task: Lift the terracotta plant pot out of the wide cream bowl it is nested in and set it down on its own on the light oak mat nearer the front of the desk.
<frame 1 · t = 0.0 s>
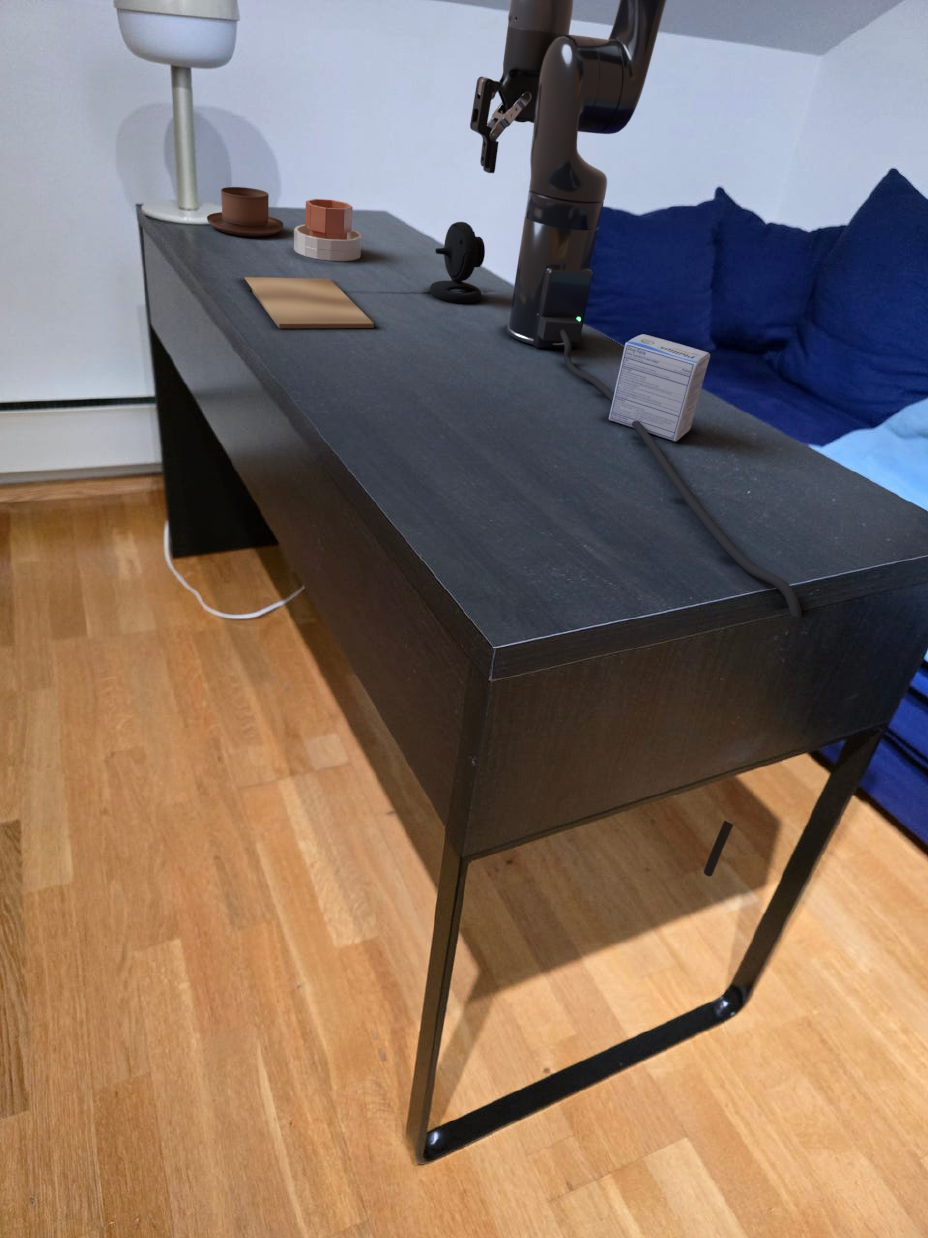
hand: (517, 174, 116), 17 cm above the table, tool pointing down, fingers open, 8 cm apart
oak mat: (306, 303, 116), on the table
webcam: (454, 297, 127), on the table
cup and saucer: (245, 234, 143), on the table
cream bowl: (327, 255, 138), on the table, touching terracotta plant pot
medicine box: (648, 428, 94), on the table
terracotta plant pot: (327, 252, 137), resting on cream bowl
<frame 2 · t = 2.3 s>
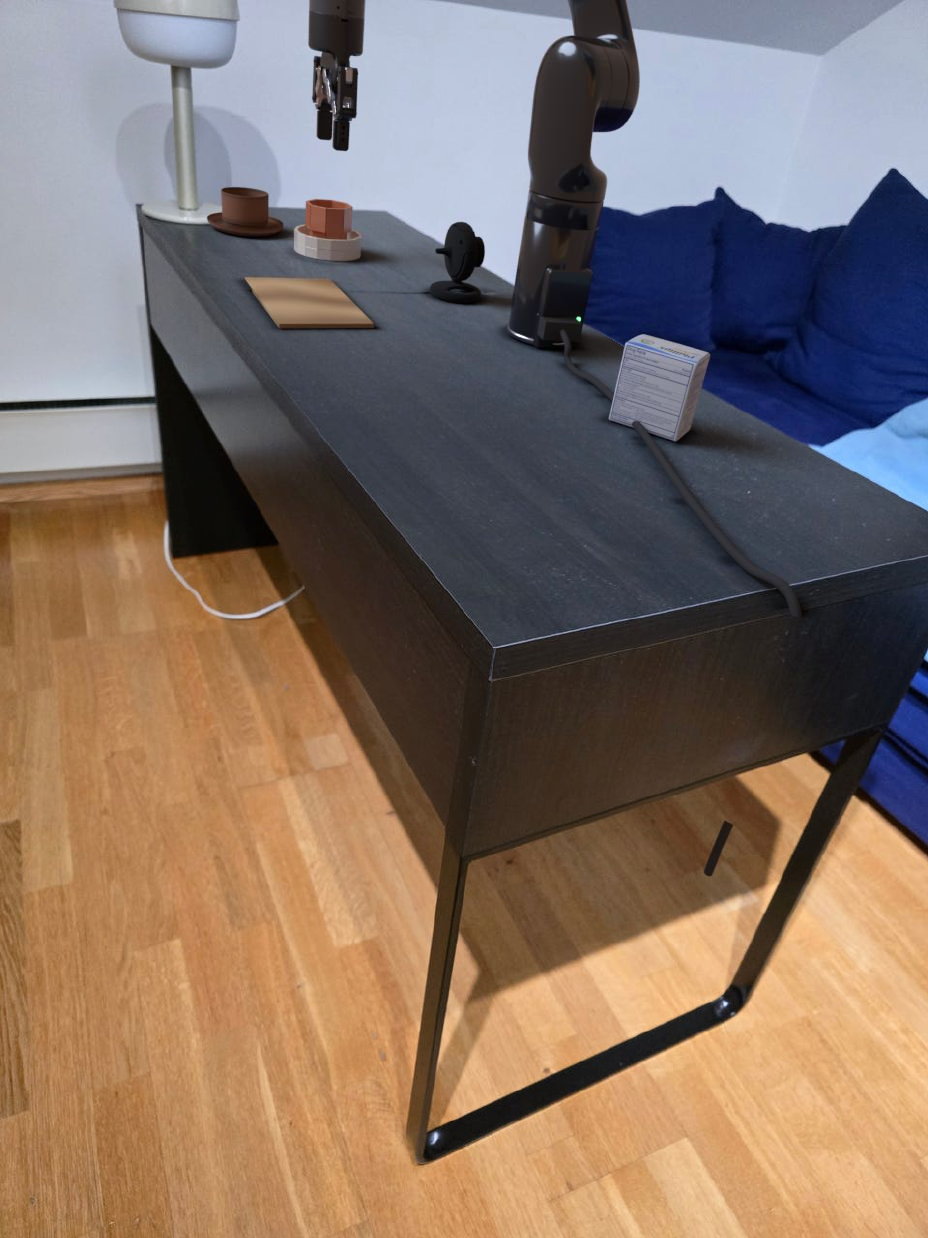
hand: (332, 144, 129), 16 cm above the table, tool pointing down, fingers open, 8 cm apart
nothing on the table moved.
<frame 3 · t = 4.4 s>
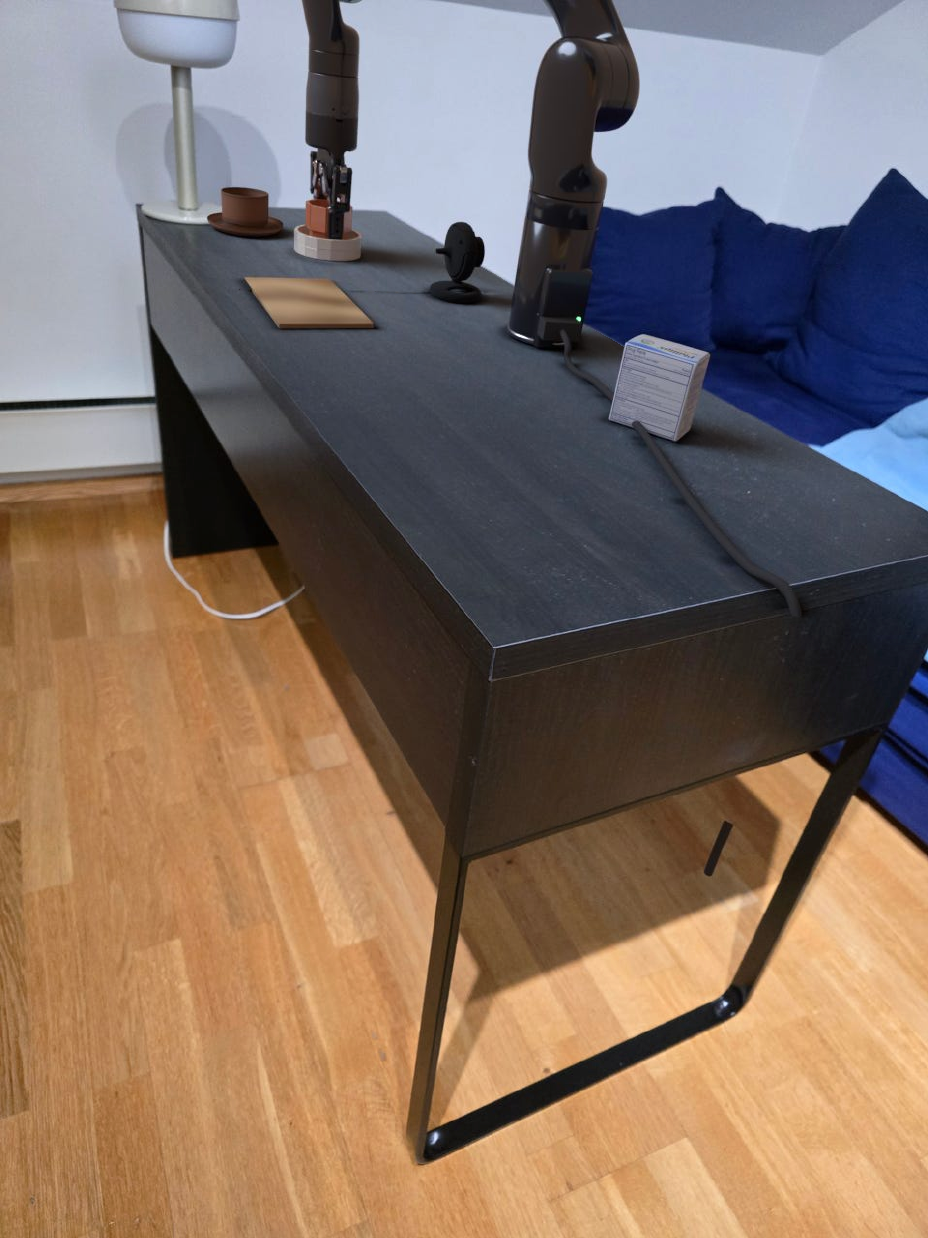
hand: (328, 233, 136), 3 cm above the table, tool pointing down, fingers closed on terracotta plant pot, 6 cm apart
terracotta plant pot: (327, 252, 137), resting on cream bowl, touching gripper
everything else where it was.
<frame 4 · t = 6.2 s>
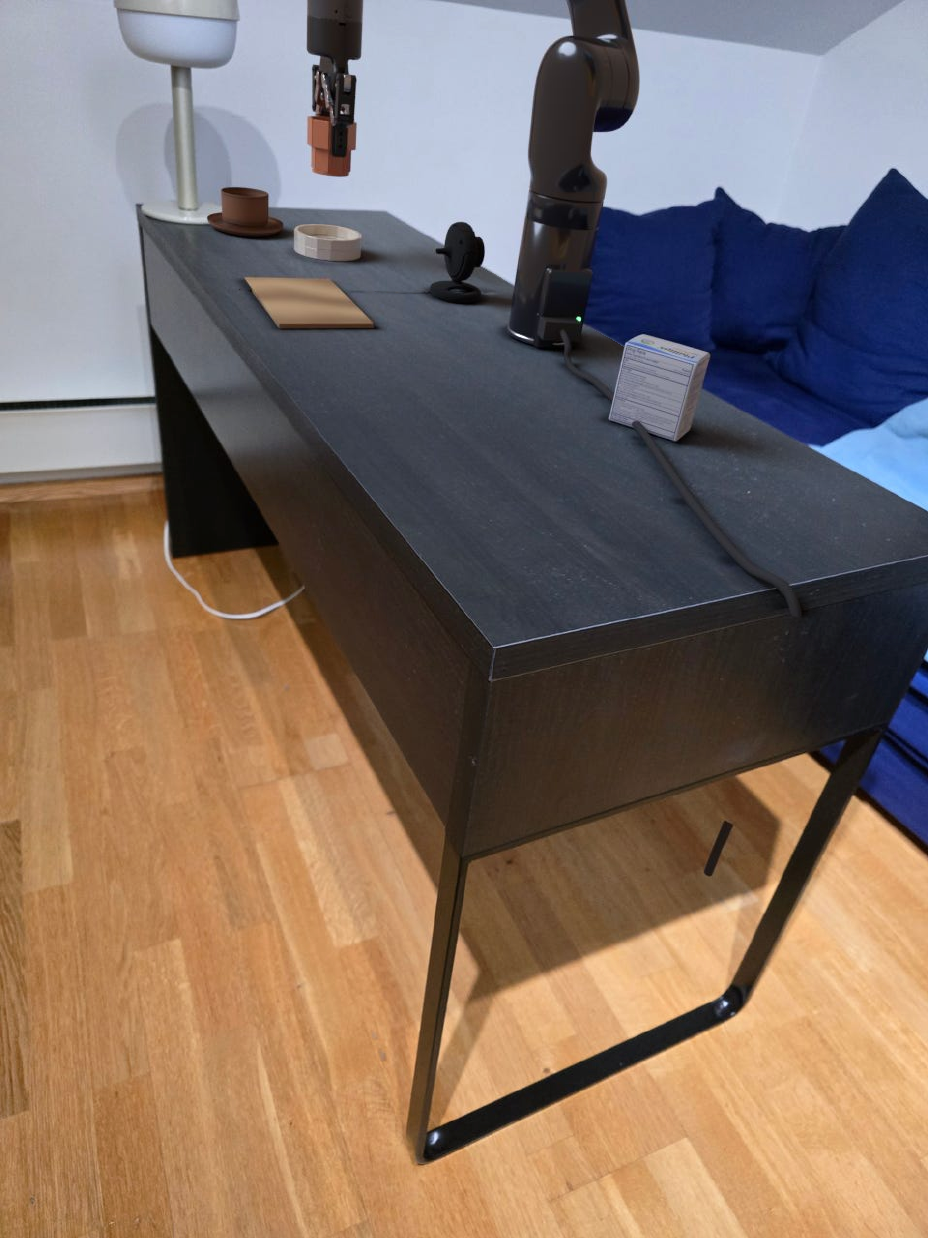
hand: (331, 151, 129), 15 cm above the table, tool pointing down, fingers closed on terracotta plant pot, 6 cm apart
cream bowl: (327, 255, 138), on the table
terracotta plant pot: (330, 173, 131), point 12 cm above the table, touching gripper
everything else where it was.
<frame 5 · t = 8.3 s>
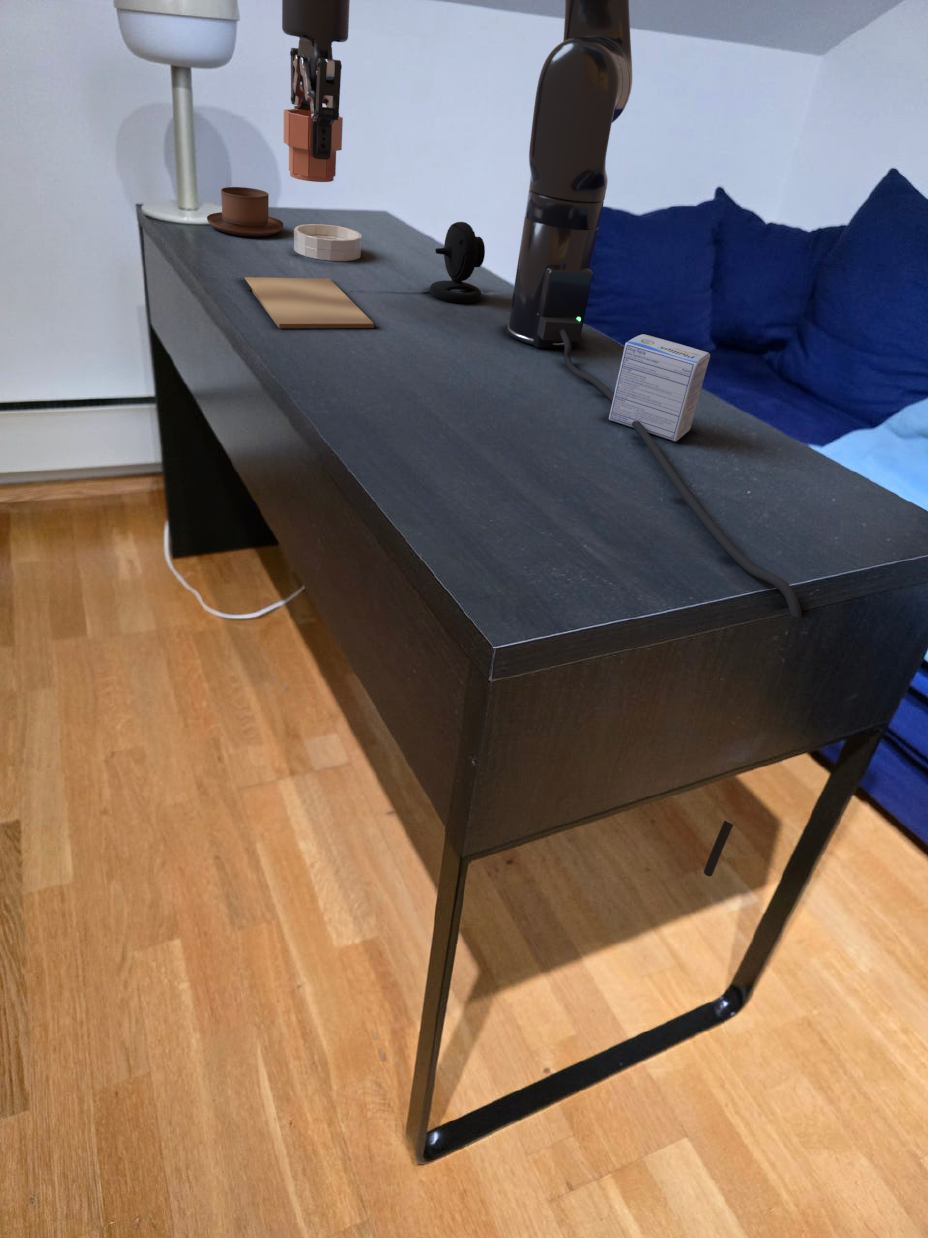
hand: (313, 152, 108), 17 cm above the table, tool pointing down, fingers closed on terracotta plant pot, 6 cm apart
terracotta plant pot: (312, 177, 110), point 15 cm above the table, touching gripper
everything else where it was.
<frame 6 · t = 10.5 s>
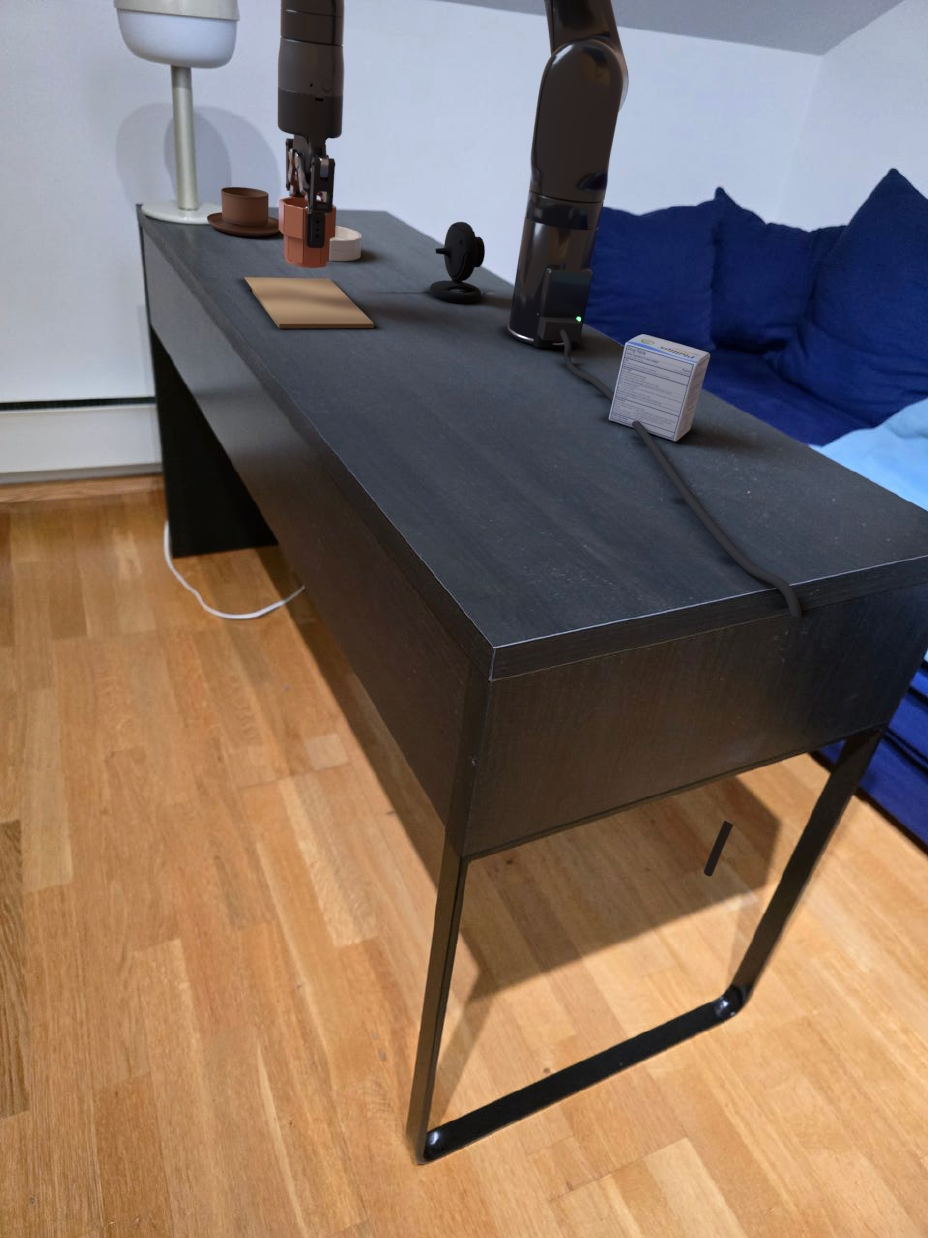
hand: (307, 239, 111), 8 cm above the table, tool pointing down, fingers closed on terracotta plant pot, 6 cm apart
terracotta plant pot: (306, 262, 113), point 5 cm above the table, touching gripper
everything else where it was.
when the fingers open (3 cm above the table, at t = 12.3 s): terracotta plant pot stays where it is, resting on oak mat.
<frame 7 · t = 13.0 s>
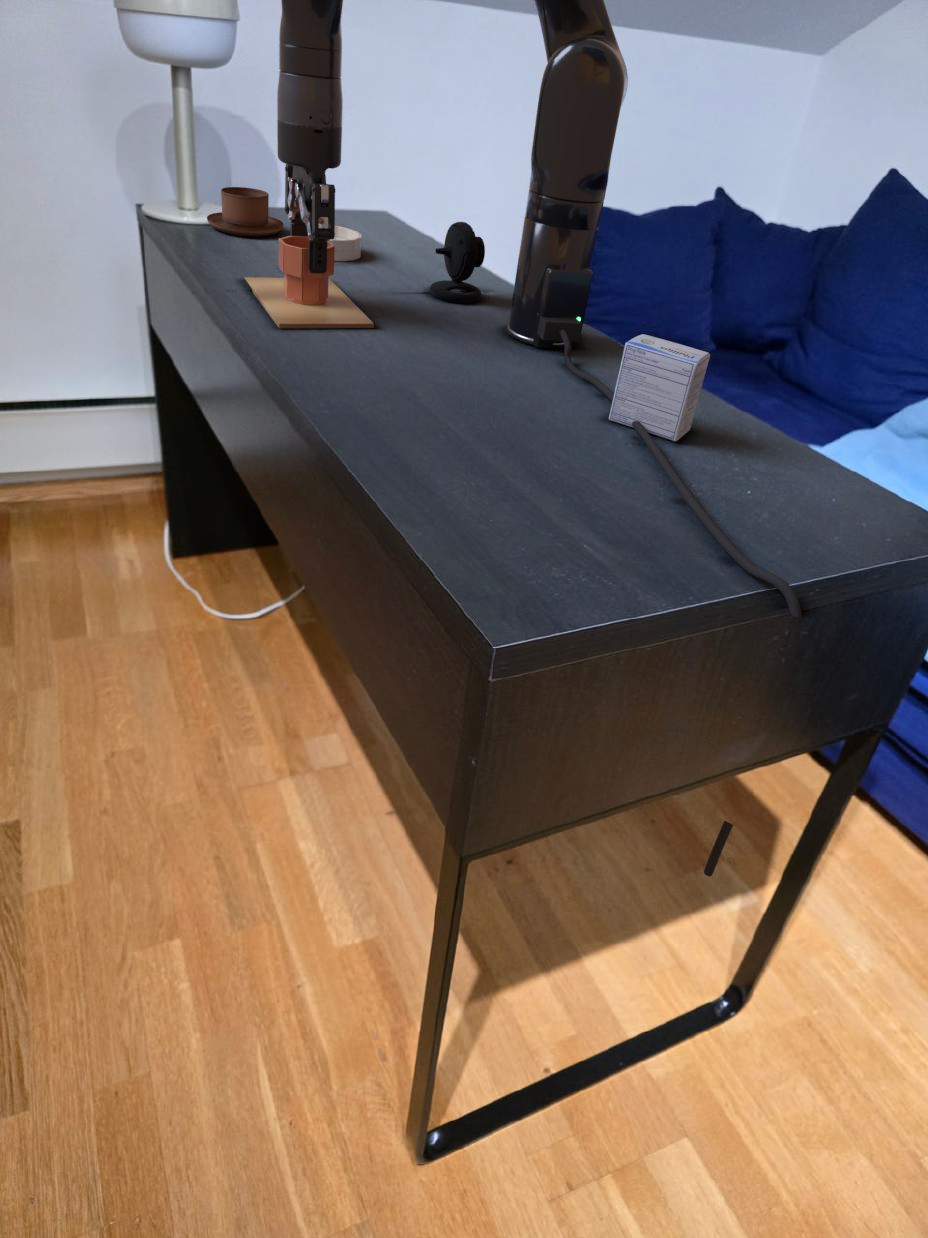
hand: (308, 263, 112), 5 cm above the table, tool pointing down, fingers open, 8 cm apart
terracotta plant pot: (305, 298, 115), point 1 cm above the table, touching oak mat
everything else where it was.
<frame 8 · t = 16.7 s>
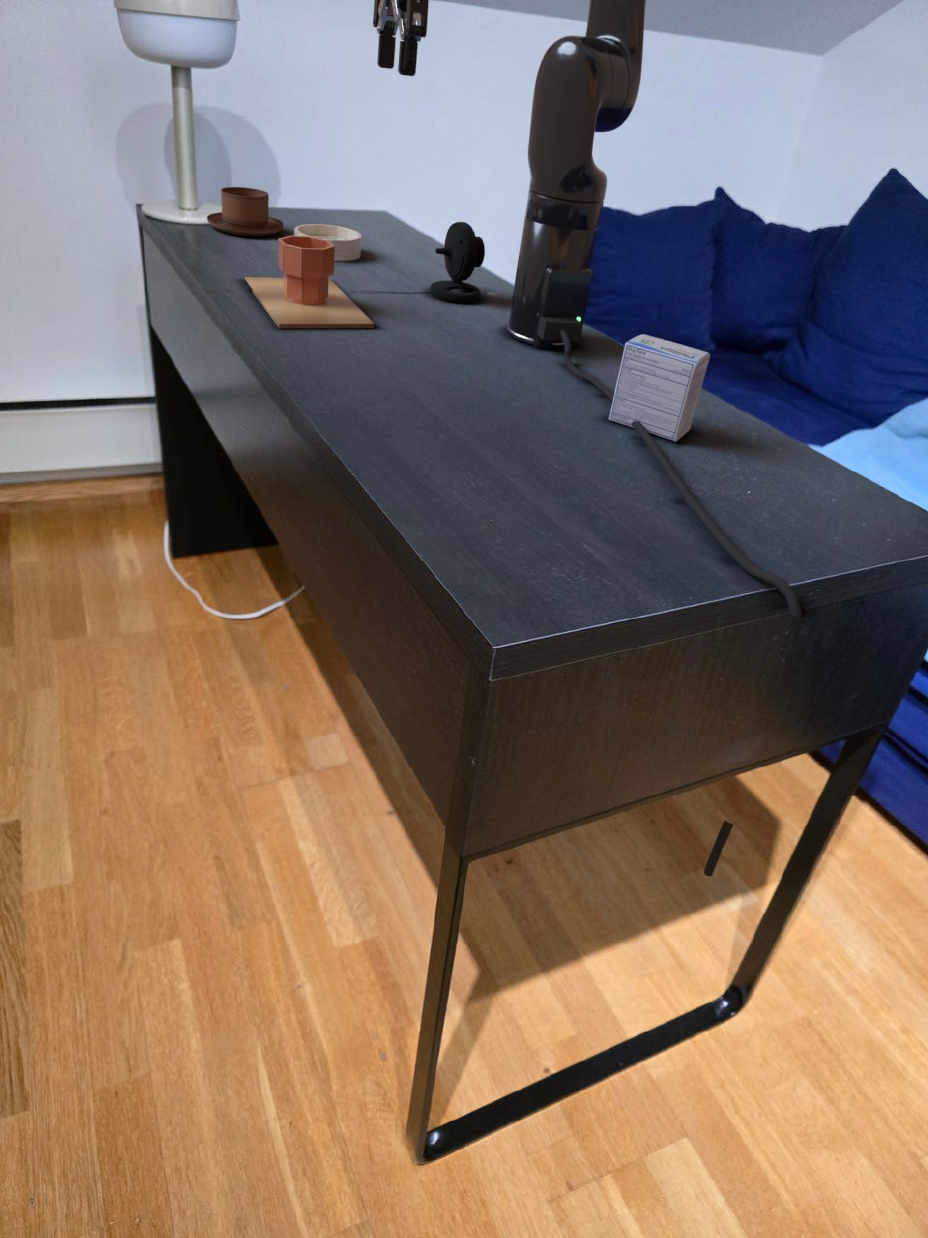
hand: (395, 71, 119), 26 cm above the table, tool pointing down, fingers open, 8 cm apart
nothing on the table moved.
at the end: terracotta plant pot inside the target area on the oak mat (0.2 cm from its centre), point 0.6 cm above the oak mat's base; terracotta plant pot tilted 0°; cream bowl moved 0.0 cm from its start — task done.
